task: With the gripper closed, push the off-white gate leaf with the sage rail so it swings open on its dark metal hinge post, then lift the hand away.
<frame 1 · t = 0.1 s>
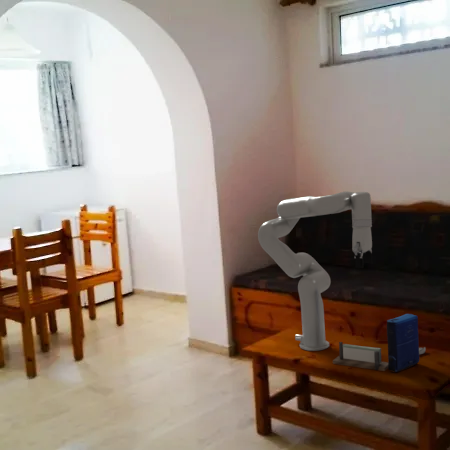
hand: (363, 265, 253), 37 cm above the table, tool pointing down, fingers open, 9 cm apart
book: (403, 368, 239), on the table
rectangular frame: (406, 355, 254), on the table
gate leaf: (361, 353, 245), point 5 cm above the table, hinge at 0.0°
gate frame: (361, 364, 246), on the table
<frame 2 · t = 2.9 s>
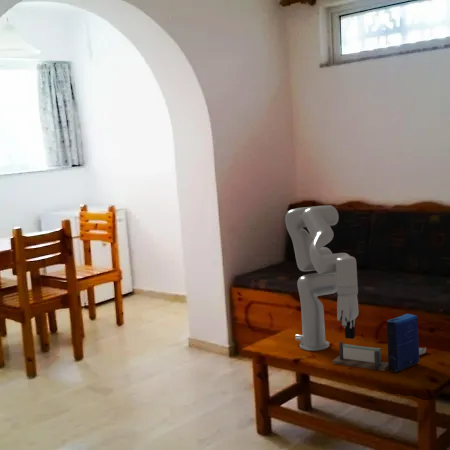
hand: (350, 337, 235), 14 cm above the table, tool pointing down, fingers closed
nothing on the table moved.
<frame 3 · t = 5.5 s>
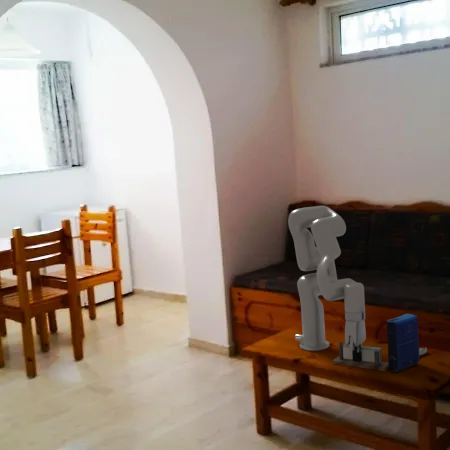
hand: (357, 361, 243), 3 cm above the table, tool pointing down, fingers closed
gate leaf: (361, 353, 245), point 5 cm above the table, hinge at 1.9°, touching gripper
everything else where it was.
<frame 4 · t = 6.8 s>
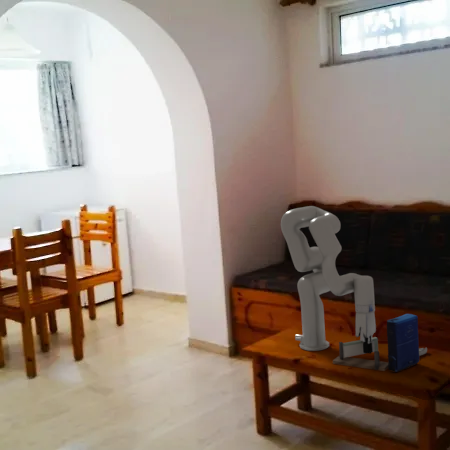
hand: (367, 352, 249), 3 cm above the table, tool pointing down, fingers closed
gate leaf: (360, 347, 252), point 5 cm above the table, hinge at 50.4°, touching gripper
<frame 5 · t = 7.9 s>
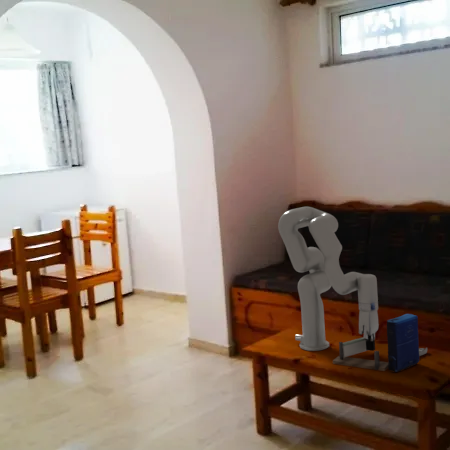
hand: (370, 349, 253), 3 cm above the table, tool pointing down, fingers closed
gate leaf: (357, 346, 254), point 5 cm above the table, hinge at 62.3°, touching gripper
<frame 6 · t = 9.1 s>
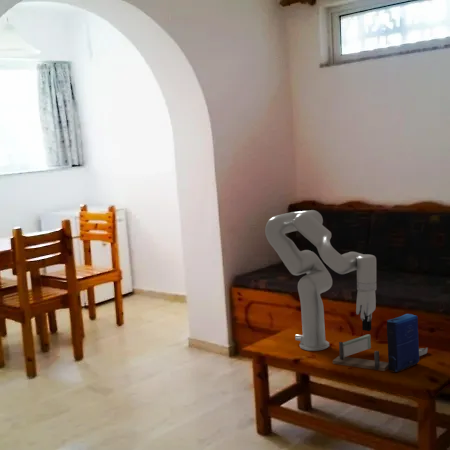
hand: (366, 329, 253), 11 cm above the table, tool pointing down, fingers closed
gate leaf: (356, 345, 254), point 5 cm above the table, hinge at 67.7°
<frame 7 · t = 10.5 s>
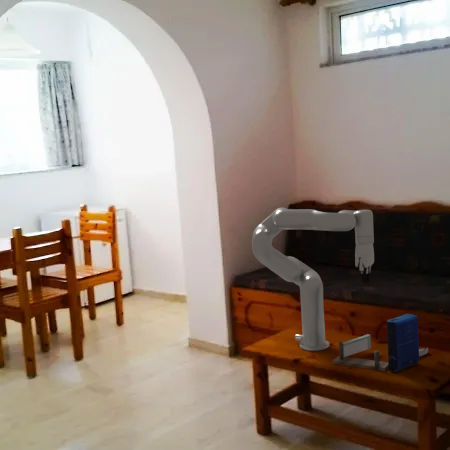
hand: (366, 282, 265), 27 cm above the table, tool pointing down, fingers closed
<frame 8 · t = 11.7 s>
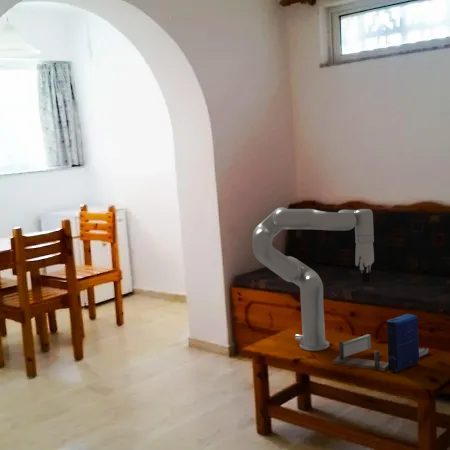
hand: (366, 281, 266), 27 cm above the table, tool pointing down, fingers closed
at the end: gate leaf at +68° (first picture: +0°); book moved 0.2 cm from its start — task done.
